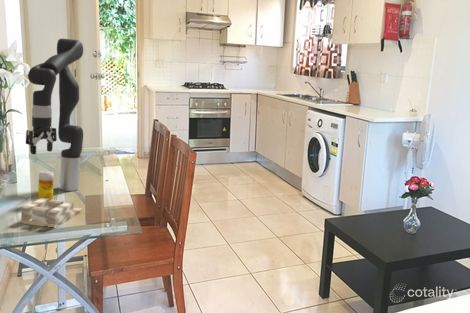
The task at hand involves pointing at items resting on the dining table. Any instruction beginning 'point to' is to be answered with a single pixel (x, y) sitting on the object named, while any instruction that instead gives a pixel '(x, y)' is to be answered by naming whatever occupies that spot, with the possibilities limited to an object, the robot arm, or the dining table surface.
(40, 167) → the dining table surface
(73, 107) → the robot arm
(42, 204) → the jig
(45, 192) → the yellow and white bottle
